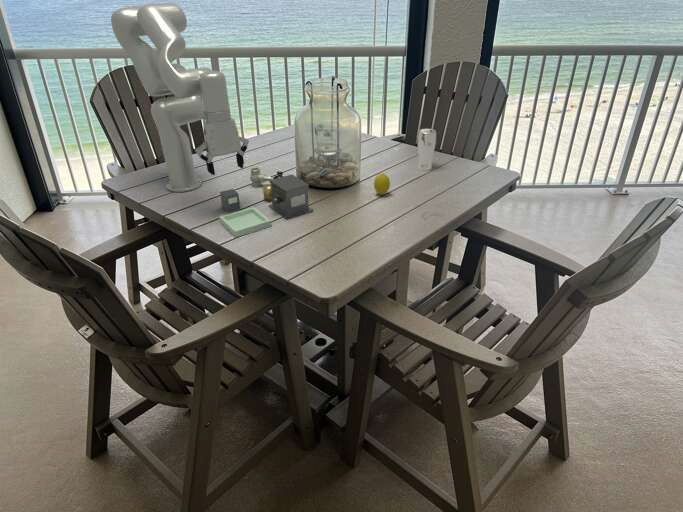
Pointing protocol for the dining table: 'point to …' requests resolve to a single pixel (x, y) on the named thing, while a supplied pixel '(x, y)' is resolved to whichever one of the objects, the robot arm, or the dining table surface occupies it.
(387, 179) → the lemon
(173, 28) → the robot arm
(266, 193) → the cylinder
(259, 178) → the valve
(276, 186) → the box
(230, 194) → the block
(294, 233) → the dining table surface
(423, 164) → the beer glass
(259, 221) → the tray
